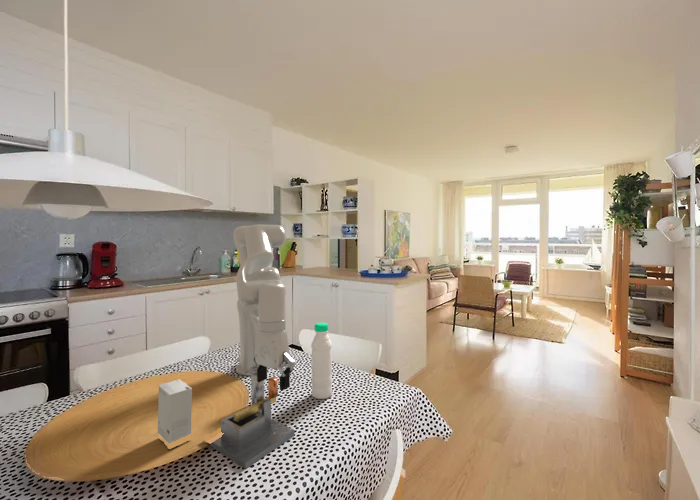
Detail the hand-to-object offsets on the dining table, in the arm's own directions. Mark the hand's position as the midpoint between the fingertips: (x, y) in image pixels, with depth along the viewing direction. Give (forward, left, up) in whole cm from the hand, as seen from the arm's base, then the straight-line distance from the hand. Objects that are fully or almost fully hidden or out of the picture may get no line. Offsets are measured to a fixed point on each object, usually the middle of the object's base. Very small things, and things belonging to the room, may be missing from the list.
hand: (273, 384), depth 93 cm
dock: (0, -9, -12) cm, 15 cm away
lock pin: (0, -5, -5) cm, 8 cm away
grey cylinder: (-13, +5, -12) cm, 19 cm away
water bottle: (0, +22, -12) cm, 25 cm away
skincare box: (-16, -20, -12) cm, 29 cm away
